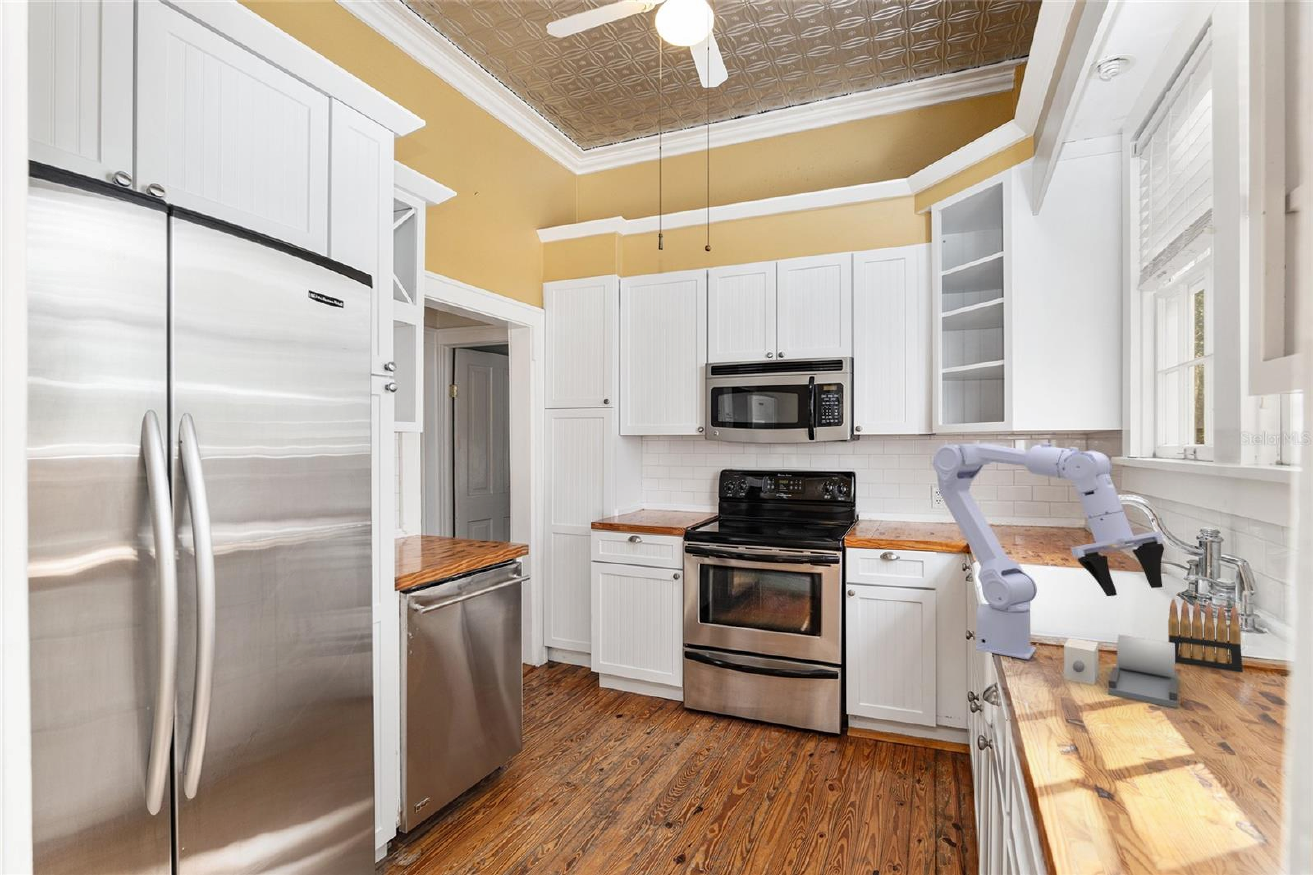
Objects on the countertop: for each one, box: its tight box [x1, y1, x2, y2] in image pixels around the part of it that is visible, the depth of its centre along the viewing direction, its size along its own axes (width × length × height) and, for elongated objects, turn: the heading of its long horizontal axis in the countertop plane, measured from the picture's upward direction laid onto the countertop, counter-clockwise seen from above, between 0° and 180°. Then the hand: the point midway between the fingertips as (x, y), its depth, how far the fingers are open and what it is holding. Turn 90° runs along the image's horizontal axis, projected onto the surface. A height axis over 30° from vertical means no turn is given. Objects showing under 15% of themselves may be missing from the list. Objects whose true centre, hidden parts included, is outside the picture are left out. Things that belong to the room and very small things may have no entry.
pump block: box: [1063, 637, 1100, 686], centre depth 115 cm, size 4×7×6 cm, turn 140°
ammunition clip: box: [1167, 598, 1244, 673], centre depth 121 cm, size 11×2×12 cm, turn 55°
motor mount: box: [1107, 634, 1180, 709], centre depth 110 cm, size 9×16×7 cm, turn 140°
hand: (1134, 591), depth 111 cm, fingers open, 7 cm apart
